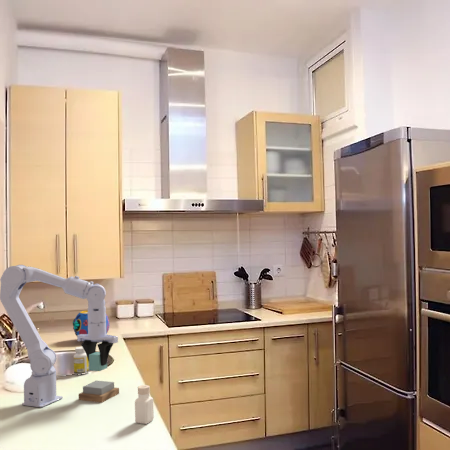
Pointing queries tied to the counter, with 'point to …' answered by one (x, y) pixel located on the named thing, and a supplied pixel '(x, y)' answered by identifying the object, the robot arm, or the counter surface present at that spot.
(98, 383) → the slate-grey block
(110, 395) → the walnut block
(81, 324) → the ceramic pot
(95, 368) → the teal block
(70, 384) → the counter surface
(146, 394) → the white square bottle
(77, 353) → the supplement bottle
